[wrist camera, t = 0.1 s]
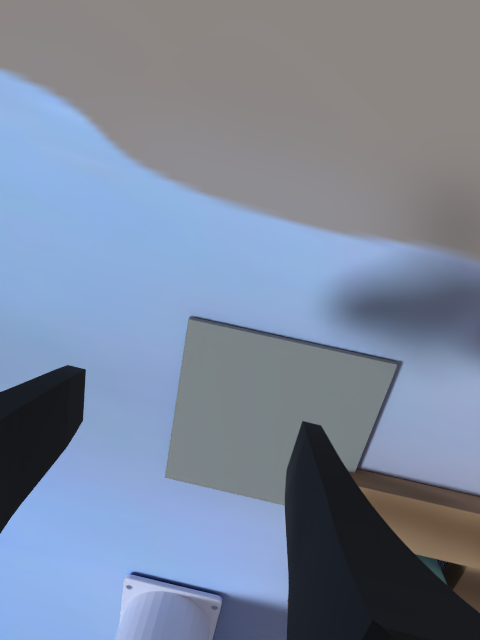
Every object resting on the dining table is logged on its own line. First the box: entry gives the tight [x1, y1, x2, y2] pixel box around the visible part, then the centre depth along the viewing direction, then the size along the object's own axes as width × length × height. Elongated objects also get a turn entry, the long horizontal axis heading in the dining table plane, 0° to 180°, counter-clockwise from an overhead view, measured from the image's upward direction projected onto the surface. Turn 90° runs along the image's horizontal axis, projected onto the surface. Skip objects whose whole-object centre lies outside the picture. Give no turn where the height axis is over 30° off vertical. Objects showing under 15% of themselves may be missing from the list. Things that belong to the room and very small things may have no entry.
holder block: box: [349, 469, 480, 613], centre depth 27 cm, size 14×14×2 cm
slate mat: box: [165, 317, 397, 505], centre depth 24 cm, size 12×12×1 cm
